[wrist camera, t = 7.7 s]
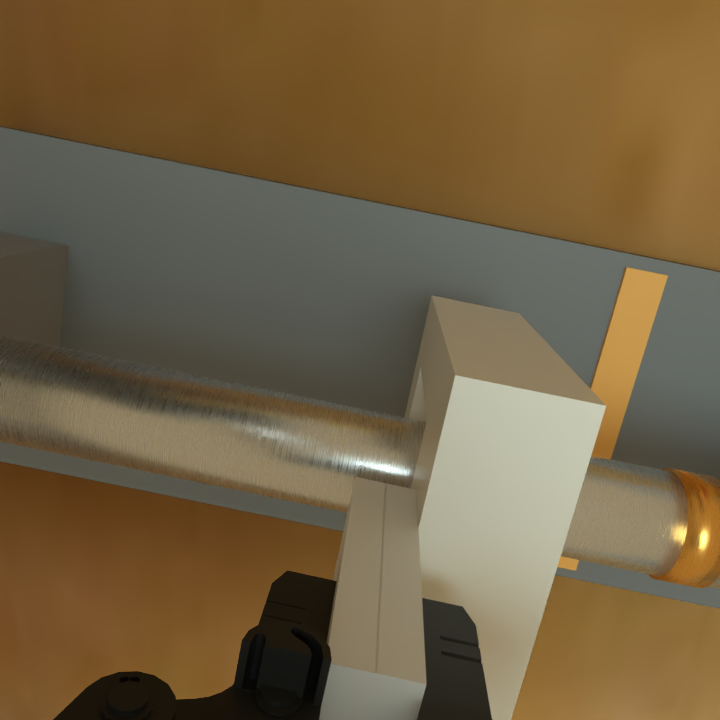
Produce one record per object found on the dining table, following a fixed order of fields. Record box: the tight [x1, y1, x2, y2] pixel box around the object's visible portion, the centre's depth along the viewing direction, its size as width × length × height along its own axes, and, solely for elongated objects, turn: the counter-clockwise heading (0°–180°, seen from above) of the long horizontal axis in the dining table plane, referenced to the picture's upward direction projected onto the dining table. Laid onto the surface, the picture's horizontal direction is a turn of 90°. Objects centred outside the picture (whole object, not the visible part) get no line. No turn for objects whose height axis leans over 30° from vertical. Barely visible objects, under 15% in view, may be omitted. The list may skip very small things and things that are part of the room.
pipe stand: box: [0, 126, 720, 608], centre depth 25 cm, size 36×14×10 cm, turn 79°
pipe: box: [0, 335, 720, 589], centre depth 20 cm, size 32×3×3 cm, turn 79°
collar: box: [405, 296, 606, 720], centre depth 19 cm, size 3×9×10 cm, turn 169°
